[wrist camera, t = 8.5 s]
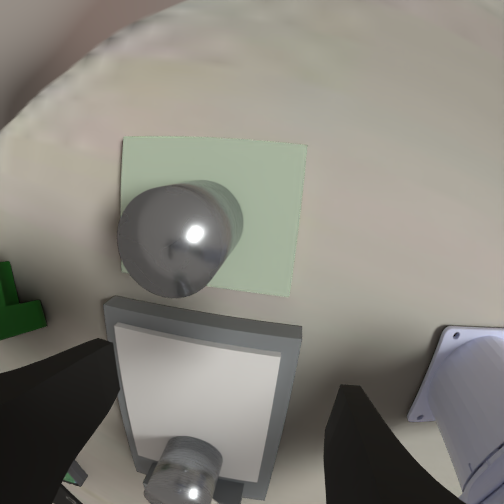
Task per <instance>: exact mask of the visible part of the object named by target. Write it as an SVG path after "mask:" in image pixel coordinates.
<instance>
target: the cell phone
mask: <svg viewBox="0 0 504 504" xmlns="http://www.w3.org/2000/svg"><path fill="white" fill-rule="evenodd" d="M53 503H54V504H82V503H81V502H80V501H79V500H78V499H77V498H76V497H75V496H74V495H72V494H71V493H70V492H69V491H68V490H67V489H66V488H65V487H64V486H63V485H62V484H61V485H60V487H59V490H58V492H57V494H56V496H55V498H54V500H53Z"/></svg>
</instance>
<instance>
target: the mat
mask: <svg viewBox="0 0 504 504" xmlns="http://www.w3.org/2000/svg"><path fill="white" fill-rule="evenodd" d="M306 154H307V145H301V144H292V143H282V142H272V141H261V140H248V139H233V138H215V137H187V136H127V137H124V139H123V153H122V172H121V207H120V218H121V216H122V214H123V212H124V210H125V208H126V207H127V205H128V204H129V203H130V202H131V201H132V200H133V199H134V198H135V197H136V196H137V195H139V194H141V193H142V192H144V191H146V190H149V189H152V188H156V187H161V186H166V185H172V184H177V183H183V182H189V181H195V180H209V181H213V182H216V183H219V184H221V185H222V186H224V187H226V188H227V189H228V190H229V191H230V192H231V193H232V194H233V195H234V196H235V198H236V199H237V201H238V203H239V204H240V207H241V210H242V213H243V221H244V224H243V232H242V235H241V238H240V240H239V242H238V244H237V246H236V247H235V248H234V250H233V251H232V252H231V254H230V255H229V256H228V258H227V259H226V261H225V262H224V263H223V265H222V266H221V267H220V269H219V270H218V271H217V273H216V274H215V275H214V277H213V278H212V280H211V281H210V282H209V283H208V284H207V285H206V286H210V287H217V288H224V289H231V290H238V291H245V292H253V293H260V294H268V295H275V296H283V297H289V295H290V288H291V281H292V274H293V266H294V259H295V251H296V243H297V235H298V227H299V219H300V210H301V202H302V193H303V184H304V174H305V165H306ZM121 268H122V272H124V273H128V271H127V270H126V268H125V266H124V264H123V262H122V260H121Z"/></svg>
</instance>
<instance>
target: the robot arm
mask: <svg viewBox="0 0 504 504" xmlns="http://www.w3.org/2000/svg"><path fill="white" fill-rule="evenodd" d="M456 332H457V334H456V335H455V336H453V335H454V334H455V333H456ZM119 391H120V384H119V379H118V372H117V366H116V359H115V352H114V345H113V342H109V341H106V340H103V339H99V338H97V339H94V340H91V341H88V342H86V343H83V344H81V345H78V346H76V347H73V348H71V349H68V350H66V351H64V352H61V353H59V354H56V355H54V356H51V357H49V358H46V359H44V360H41V361H38V362H35V363H32V364H30V365H27V366H24V367H21V368H18V369H15V370H11V371H8V372H4V373H0V504H52V503H53V500H54V498H55V496H56V494H57V492H58V490H59V487H60V485H61V483H62V481H63V479H64V477H65V475H66V474H67V472H68V470H69V468H70V466H71V464H72V463H73V461H74V460H75V458H76V456H77V455H78V454H79V452H80V451H81V450H82V448H83V447H84V445H85V444H86V443H87V441H88V440H89V439H90V437H91V436H92V435H93V433H94V432H95V430H96V429H97V428H98V426H99V425H100V424H101V422H102V421H103V419H104V418H105V417H106V415H107V414H108V412H109V410H110V409H111V407H112V405H113V403H114V401H115V399H116V397H117V395H118V393H119ZM407 418H408V421H409V422H423V421H436V423H437V425H438V428H439V430H440V432H441V435H442V437H443V440H444V442H445V445H446V448H447V450H448V453H449V455H450V458H451V461H452V463H453V466H454V469H455V472H456V474H457V477H458V480H459V483H460V486H461V489H462V492H463V493H462V495H461V496H460V497H459V498H458V497H456V496H455V495H454V494H452V493H451V492H450V491H448V490H447V489H446V488H445V487H443V486H442V485H441V484H440V483H439V482H438V481H436V480H435V479H434V478H433V477H432V476H431V475H430V474H429V473H428V472H427V471H426V470H425V469H424V468H423V467H422V466H421V465H420V464H419V463H418V462H417V461H416V460H415V459H414V458H413V457H412V456H411V454H410V453H409V452H408V451H407V450H406V449H405V447H404V446H403V445H402V444H401V443H400V441H399V440H398V439H397V438H396V436H395V435H394V434H393V432H392V431H391V430H390V428H389V427H388V426H387V424H386V423H385V421H384V420H383V419H382V417H381V416H380V414H379V413H378V411H377V410H376V408H375V407H374V406H373V404H372V403H371V401H370V400H369V398H368V397H367V395H366V394H365V392H364V391H363V389H362V388H361V387H360V386H354V385H340V388H339V391H338V394H337V397H336V400H335V403H334V406H333V409H332V412H331V415H330V418H329V420H328V423H327V426H326V429H325V439H324V472H325V488H326V504H504V328H484V327H461V326H448V327H446V328H445V329H444V330H443V332H442V334H441V337H440V340H439V343H438V345H437V348H436V351H435V353H434V356H433V358H432V361H431V363H430V366H429V368H428V371H427V373H426V375H425V378H424V380H423V382H422V385H421V387H420V389H419V391H418V394H417V396H416V398H415V400H414V402H413V404H412V406H411V408H410V411H409V413H408V415H407Z"/></svg>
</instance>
